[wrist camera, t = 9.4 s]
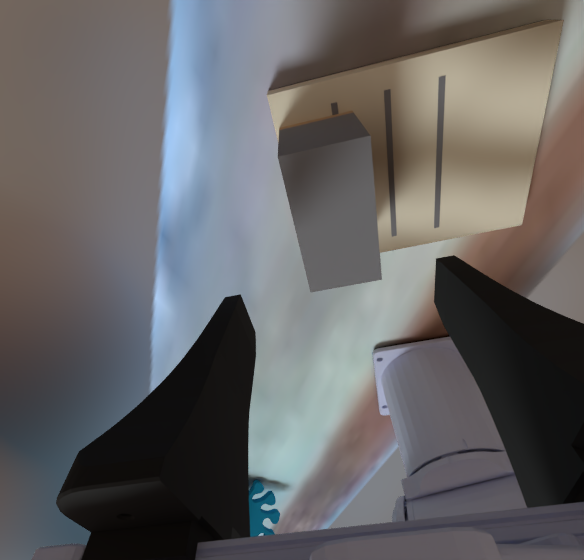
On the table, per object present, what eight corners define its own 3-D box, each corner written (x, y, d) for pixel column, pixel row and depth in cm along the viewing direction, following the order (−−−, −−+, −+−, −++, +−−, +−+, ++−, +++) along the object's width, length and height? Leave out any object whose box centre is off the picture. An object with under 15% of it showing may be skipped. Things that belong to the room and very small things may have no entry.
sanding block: (365, 235, 21) (381, 279, 17) (306, 246, 21) (310, 292, 18) (352, 110, 17) (370, 135, 13) (279, 128, 17) (277, 156, 13)
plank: (511, 215, 22) (521, 225, 21) (306, 256, 23) (307, 266, 22) (546, 19, 16) (564, 19, 15) (267, 90, 17) (267, 95, 16)
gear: (295, 501, 43) (254, 587, 40) (279, 479, 48) (242, 554, 46) (220, 465, 40) (169, 555, 37) (212, 446, 45) (167, 524, 43)
